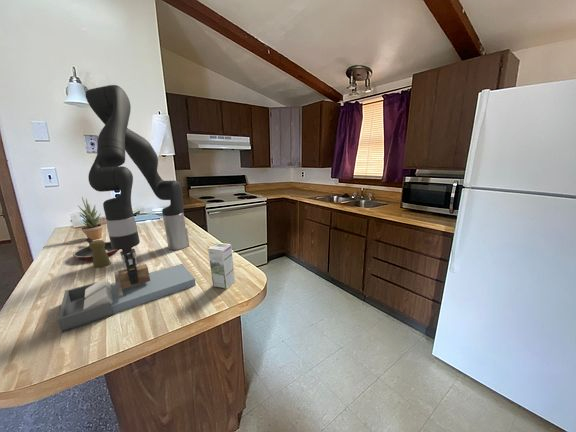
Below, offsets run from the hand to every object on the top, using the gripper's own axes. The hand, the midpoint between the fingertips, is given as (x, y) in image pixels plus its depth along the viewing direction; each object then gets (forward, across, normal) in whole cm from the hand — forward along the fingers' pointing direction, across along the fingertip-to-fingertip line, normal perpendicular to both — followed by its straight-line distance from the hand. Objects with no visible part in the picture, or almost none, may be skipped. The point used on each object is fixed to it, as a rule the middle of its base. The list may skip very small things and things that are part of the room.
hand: (134, 280), depth 79 cm
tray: (+5, 0, +12) cm, 13 cm away
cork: (+5, +36, +9) cm, 37 cm away
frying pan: (+5, +58, +11) cm, 59 cm away
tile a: (+3, -4, +9) cm, 10 cm away
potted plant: (+5, +84, +12) cm, 85 cm away
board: (+5, 0, -5) cm, 7 cm away
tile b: (+3, +4, +9) cm, 10 cm away
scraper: (+1, 0, 0) cm, 1 cm away
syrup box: (+5, -14, -25) cm, 29 cm away
